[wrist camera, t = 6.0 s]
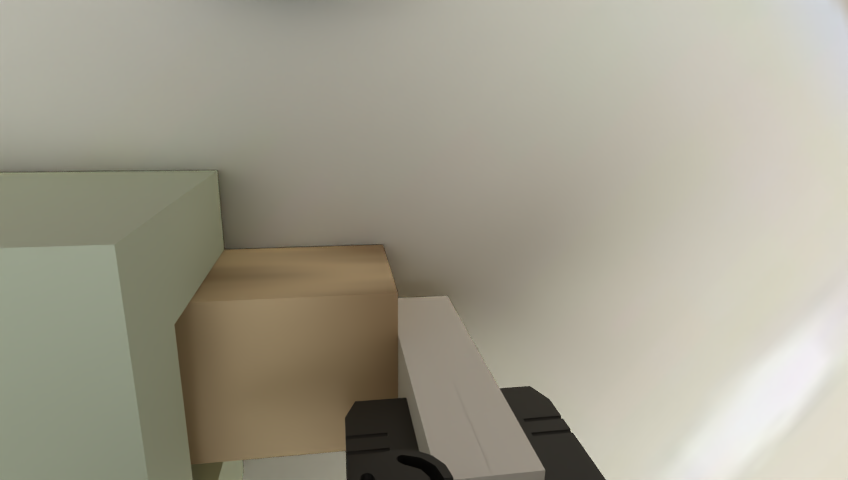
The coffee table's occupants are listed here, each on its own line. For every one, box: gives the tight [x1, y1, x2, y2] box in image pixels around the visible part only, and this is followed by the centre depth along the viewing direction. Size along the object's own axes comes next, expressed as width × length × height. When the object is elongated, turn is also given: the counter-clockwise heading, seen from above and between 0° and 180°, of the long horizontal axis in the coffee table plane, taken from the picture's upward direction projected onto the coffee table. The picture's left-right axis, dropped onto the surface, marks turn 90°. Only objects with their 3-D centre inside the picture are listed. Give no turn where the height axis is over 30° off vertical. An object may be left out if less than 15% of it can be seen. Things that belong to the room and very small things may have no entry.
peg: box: [174, 245, 398, 465], centre depth 12 cm, size 12×4×4 cm, turn 89°
